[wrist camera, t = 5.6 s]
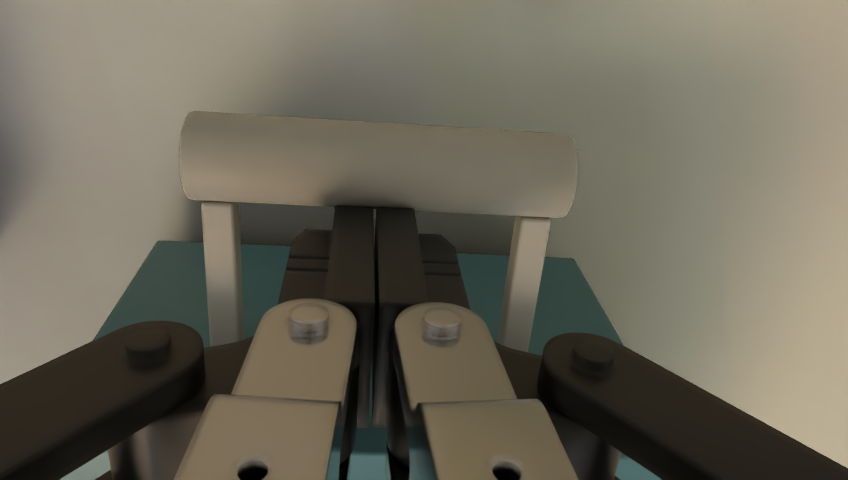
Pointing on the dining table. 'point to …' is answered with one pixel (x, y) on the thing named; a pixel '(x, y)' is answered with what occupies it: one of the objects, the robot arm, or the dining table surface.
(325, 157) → the box with handle
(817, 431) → the dining table surface
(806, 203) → the dining table surface
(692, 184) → the dining table surface
